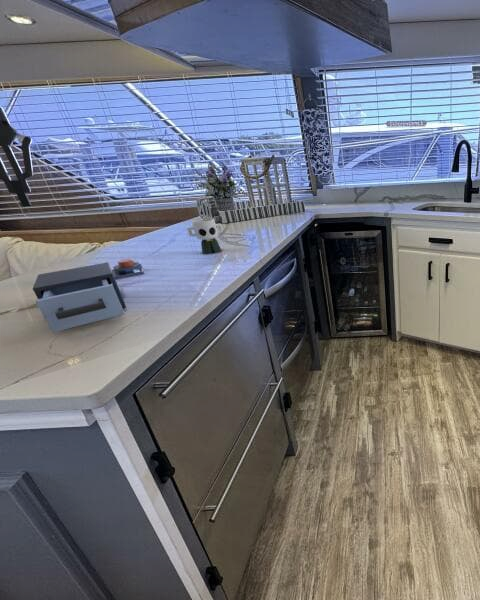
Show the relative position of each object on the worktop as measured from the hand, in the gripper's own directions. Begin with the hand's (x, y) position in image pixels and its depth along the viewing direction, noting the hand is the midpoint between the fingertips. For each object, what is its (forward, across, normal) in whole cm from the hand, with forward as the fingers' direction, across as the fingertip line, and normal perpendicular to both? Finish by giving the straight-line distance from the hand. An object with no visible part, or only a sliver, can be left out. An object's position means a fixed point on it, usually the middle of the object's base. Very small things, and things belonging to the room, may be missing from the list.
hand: (27, 206), depth 85 cm
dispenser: (+22, +5, -30) cm, 38 cm away
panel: (+22, +12, -8) cm, 27 cm away
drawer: (+22, +5, -40) cm, 46 cm away
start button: (+19, +15, -8) cm, 25 cm away
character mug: (+23, +40, 0) cm, 46 cm away
